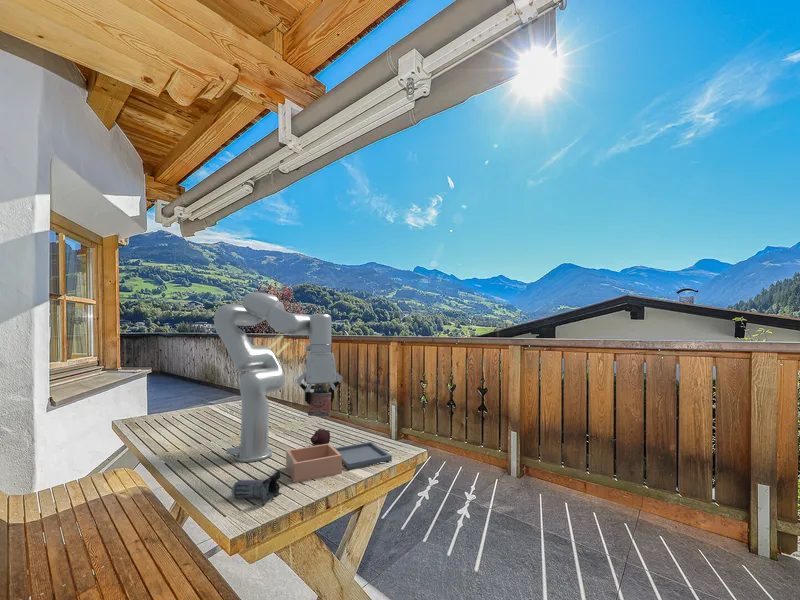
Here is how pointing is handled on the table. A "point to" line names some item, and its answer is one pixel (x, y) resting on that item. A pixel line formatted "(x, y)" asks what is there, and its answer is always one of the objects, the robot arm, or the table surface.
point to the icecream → (320, 437)
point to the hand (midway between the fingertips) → (319, 402)
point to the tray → (362, 455)
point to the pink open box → (313, 462)
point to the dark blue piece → (257, 488)
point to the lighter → (320, 401)
